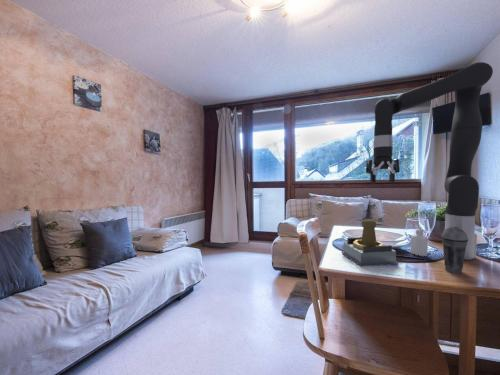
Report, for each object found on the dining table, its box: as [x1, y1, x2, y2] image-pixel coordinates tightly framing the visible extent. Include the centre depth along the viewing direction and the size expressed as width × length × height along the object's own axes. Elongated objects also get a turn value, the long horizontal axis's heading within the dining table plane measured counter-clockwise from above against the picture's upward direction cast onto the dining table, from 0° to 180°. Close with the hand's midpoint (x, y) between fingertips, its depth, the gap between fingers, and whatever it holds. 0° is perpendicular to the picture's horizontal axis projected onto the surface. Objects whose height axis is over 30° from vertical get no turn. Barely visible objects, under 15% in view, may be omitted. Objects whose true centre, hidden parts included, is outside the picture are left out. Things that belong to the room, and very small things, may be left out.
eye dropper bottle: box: [410, 226, 429, 257], centre depth 103 cm, size 4×6×12 cm
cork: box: [361, 218, 377, 246], centre depth 100 cm, size 6×6×11 cm
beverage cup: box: [440, 215, 468, 275], centre depth 86 cm, size 7×7×20 cm
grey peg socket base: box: [341, 236, 399, 267], centre depth 101 cm, size 15×15×7 cm
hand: (382, 182), depth 111 cm, fingers open, 8 cm apart
